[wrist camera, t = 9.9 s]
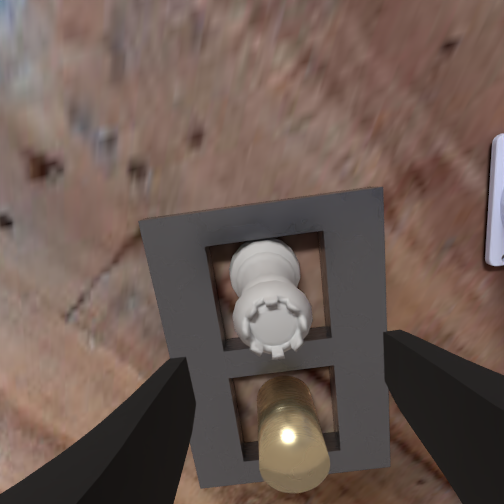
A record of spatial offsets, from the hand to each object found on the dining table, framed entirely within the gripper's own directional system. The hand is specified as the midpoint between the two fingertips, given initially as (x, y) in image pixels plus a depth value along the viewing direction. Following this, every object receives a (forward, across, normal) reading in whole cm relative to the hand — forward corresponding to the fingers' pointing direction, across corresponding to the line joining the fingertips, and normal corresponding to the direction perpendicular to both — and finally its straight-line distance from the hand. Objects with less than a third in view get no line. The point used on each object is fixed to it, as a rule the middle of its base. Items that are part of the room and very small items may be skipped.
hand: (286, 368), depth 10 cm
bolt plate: (+9, 0, +4) cm, 10 cm away
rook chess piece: (+9, 0, -1) cm, 9 cm away
